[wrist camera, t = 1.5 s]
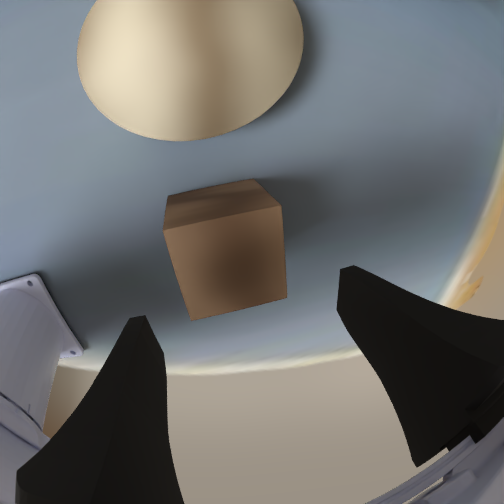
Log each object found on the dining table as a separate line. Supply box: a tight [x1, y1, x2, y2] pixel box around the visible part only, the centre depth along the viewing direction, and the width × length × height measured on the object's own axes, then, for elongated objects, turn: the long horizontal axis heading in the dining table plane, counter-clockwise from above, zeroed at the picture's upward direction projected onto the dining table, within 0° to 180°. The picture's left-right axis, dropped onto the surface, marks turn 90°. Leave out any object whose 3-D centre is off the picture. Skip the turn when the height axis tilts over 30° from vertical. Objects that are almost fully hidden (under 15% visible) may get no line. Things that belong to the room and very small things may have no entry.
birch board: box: [77, 0, 304, 141], centre depth 10 cm, size 11×11×2 cm
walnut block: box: [163, 179, 287, 321], centre depth 14 cm, size 5×5×5 cm
